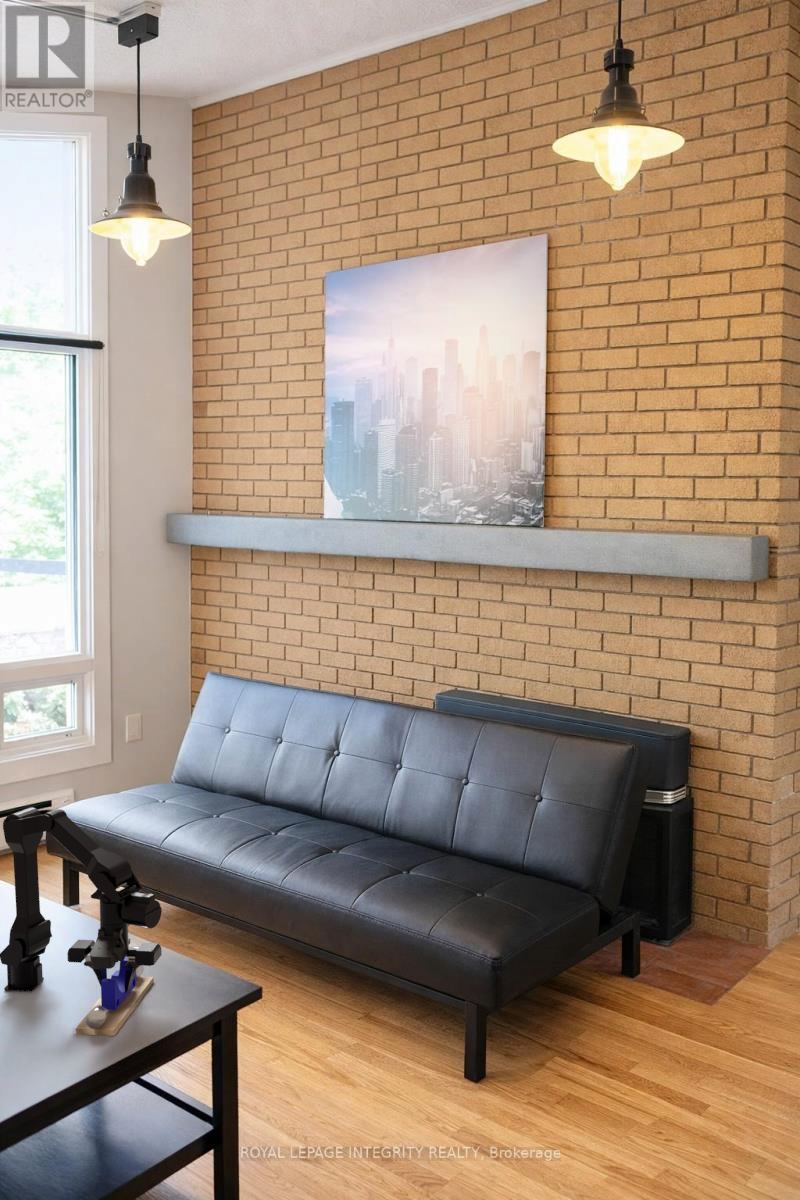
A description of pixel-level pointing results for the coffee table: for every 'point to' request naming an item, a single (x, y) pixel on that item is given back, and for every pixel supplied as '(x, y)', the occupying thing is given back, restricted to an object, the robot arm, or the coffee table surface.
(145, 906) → the robot arm
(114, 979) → the cable clip
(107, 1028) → the light wooden board
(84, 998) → the coffee table surface
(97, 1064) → the coffee table surface
